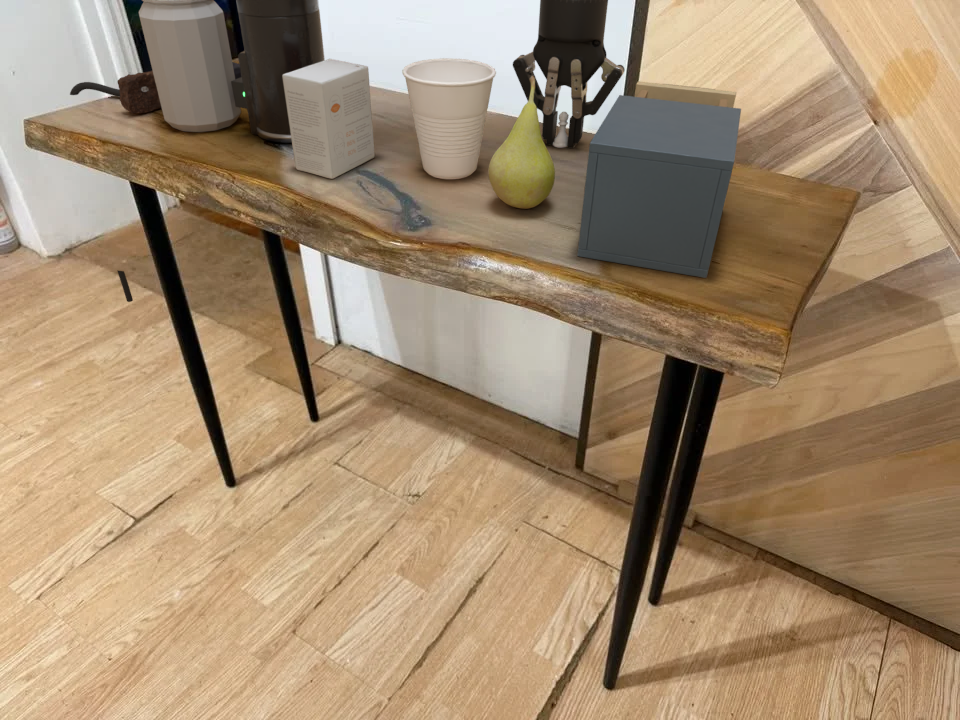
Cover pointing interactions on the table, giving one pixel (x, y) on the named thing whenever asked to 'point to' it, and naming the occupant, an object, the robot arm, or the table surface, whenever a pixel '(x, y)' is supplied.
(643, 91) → the drawer
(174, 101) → the jar
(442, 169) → the cup
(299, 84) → the small box
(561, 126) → the chess pawn
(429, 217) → the table surface
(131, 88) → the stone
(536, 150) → the fruit
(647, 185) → the cabinet
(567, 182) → the table surface
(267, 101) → the robot arm
